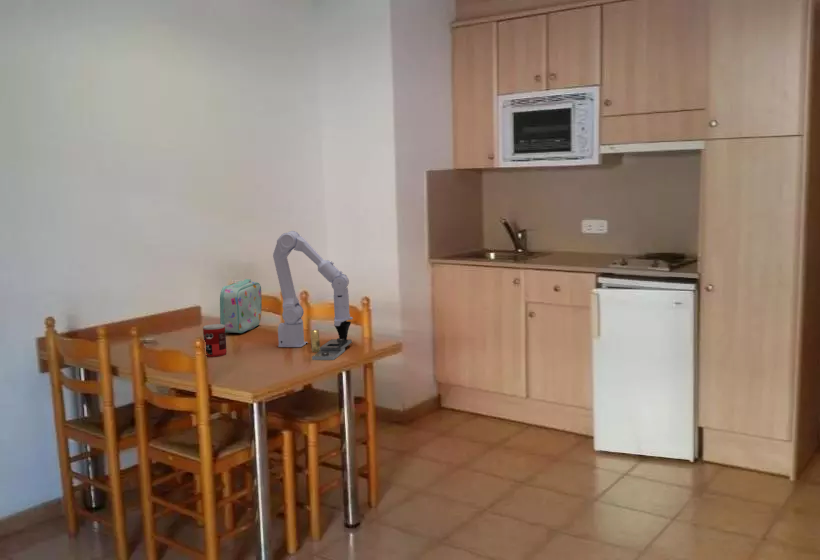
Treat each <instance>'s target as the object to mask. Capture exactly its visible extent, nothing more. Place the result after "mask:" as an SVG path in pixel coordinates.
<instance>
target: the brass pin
mask: <svg viewBox="0 0 820 560" xmlns="http://www.w3.org/2000/svg"><path fill="white" fill-rule="evenodd" d="M310 341H311V343H310V344H311V352H312V353H318V352H319V351H320V347H321V345H320V344H321V343H320V330H319V329H311V330H310Z"/></svg>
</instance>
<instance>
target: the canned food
mask: <svg viewBox="0 0 820 560" xmlns="http://www.w3.org/2000/svg"><path fill="white" fill-rule="evenodd" d="M202 332H203V333H202V334H203V341H204V340H205V342H206V354H207V356H208V357H209V358H213V357H214V358H215V357H216V358H218V357H223V356H225V355H226V354H227V352H228V351H227V350H228V349H227V339H226V333H225V325H223V324H220V323H215V324H214V323H213V324H207V325H206V324H205V325H204V326H202ZM207 356H206V357H207Z"/></svg>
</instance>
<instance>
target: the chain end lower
mask: <svg viewBox="0 0 820 560" xmlns="http://www.w3.org/2000/svg"><path fill="white" fill-rule="evenodd" d="M345 352H346V347H345V348H344V349H343V350H341V351H319V352H315V354H314V355H312V356H311V359H312V360H313V361H314V360H315V361H316V360H317V361H334V360H336V359H337V358H338V357H340V356H341V355H342V354H344V353H345Z"/></svg>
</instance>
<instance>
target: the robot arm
mask: <svg viewBox="0 0 820 560" xmlns="http://www.w3.org/2000/svg"><path fill="white" fill-rule="evenodd" d="M293 250H294V251H297V252H302V253H303V254H304V255H305V256H306V257H308V258H309V259H310V260H311V261H312V262H313V263H314V264H315V265H316V266H317V272H318V273H320V274H321V275H322V276H323V277H324V278H325V280H327V281H328V283H330V284H331V288H332V289H333V310H334V312H333V313H334V318H333V320H334V324H333V326H334V327H335V329H336V332H337V334H338V338H344V339H348V333H349V330H350V326H351V324H352V322H351V321H349V320H353V319H354V318H353V316H351V313H350V298H349V297H350V296H349V289H348V287H349V284H350V280H349V278H348V276H347V275H346V274H344V273H343V271H342V270H339V269H338V268H337V267H336V266H335V265H334V264H335V263H334V262H333V261H330V260H328V259H324V258H323V257H322V256H321V255H320V254H319V253H318V252H317V251H316V250H315V249H314V247H312V246H311V244H310V243H309V242H308V241H307V240H306V239H305V237H303V236H302V235H300V233H299V232H297V231H295V230H291V231H288V232H284V233H282V234H281V235H280V236H279V237H278V238H277V240H276V244H275V248H274V250H273V253H272V257H273V262H274V266H275V270H276V275H277V279H278V283H279V284H278V285H279V287H280V292H281V296H282V314H281V315H282V320H283V321H284V322H280V323H279V324H278V326H277V339H278V340H277V342H278V346H277V347H278V348H302V347H304V346H305V345H306V343H307V344H308V343H309V342H308V341H305V334H304V320H303V319H302V318H303V316H304V314H305V313H304V308H303V307H302V305H301V304H300V301H299V299H298V297H297V296H296V295H297V294H296V290H295V286H294V282H293V277H292V274H291V273H292V272H291V269H290V264H289V259H288V257H289V255H290V253H291V252H292V251H293Z"/></svg>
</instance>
